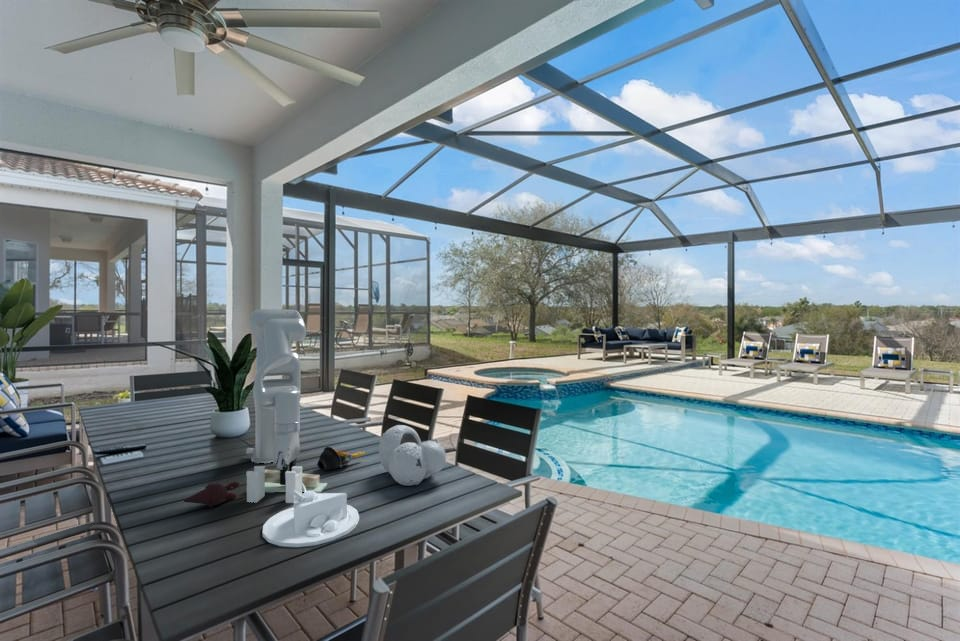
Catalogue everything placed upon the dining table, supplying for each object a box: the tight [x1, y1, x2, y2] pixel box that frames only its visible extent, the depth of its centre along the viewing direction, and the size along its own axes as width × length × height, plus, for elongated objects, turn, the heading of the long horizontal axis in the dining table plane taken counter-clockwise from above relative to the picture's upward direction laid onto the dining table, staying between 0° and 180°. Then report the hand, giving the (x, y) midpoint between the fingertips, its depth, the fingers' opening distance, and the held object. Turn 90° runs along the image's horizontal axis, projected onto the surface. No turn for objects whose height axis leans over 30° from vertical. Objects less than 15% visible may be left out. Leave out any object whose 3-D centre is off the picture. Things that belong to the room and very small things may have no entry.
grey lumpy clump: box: [378, 424, 447, 487], centre depth 161 cm, size 20×25×22 cm
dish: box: [262, 481, 360, 548], centre depth 126 cm, size 25×25×11 cm
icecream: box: [183, 481, 240, 509], centre depth 137 cm, size 7×7×15 cm
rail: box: [265, 468, 321, 487], centre depth 151 cm, size 20×3×3 cm, turn 89°
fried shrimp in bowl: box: [317, 446, 366, 472], centre depth 173 cm, size 9×11×18 cm
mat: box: [245, 482, 328, 493], centre depth 151 cm, size 24×7×1 cm, turn 89°
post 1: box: [245, 465, 266, 504], centre depth 142 cm, size 3×5×10 cm, turn 179°
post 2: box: [285, 465, 303, 504], centre depth 142 cm, size 3×5×10 cm, turn 179°
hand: (287, 482), depth 151 cm, fingers closed on rail, 3 cm apart
